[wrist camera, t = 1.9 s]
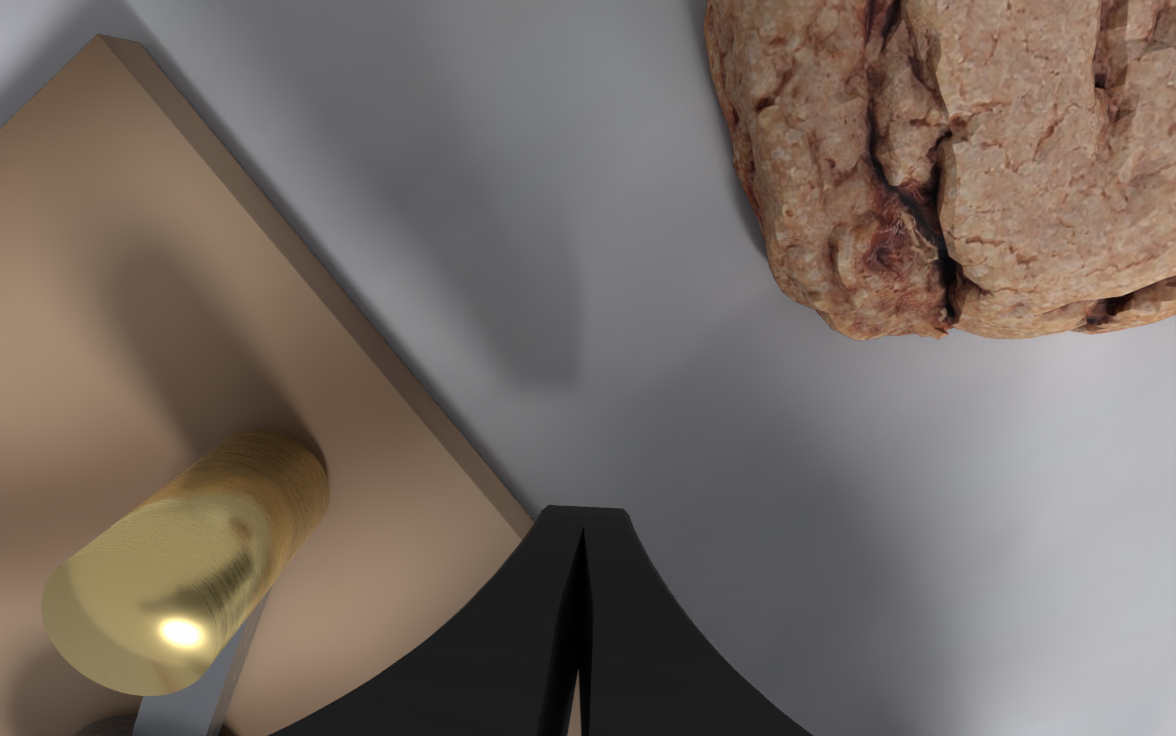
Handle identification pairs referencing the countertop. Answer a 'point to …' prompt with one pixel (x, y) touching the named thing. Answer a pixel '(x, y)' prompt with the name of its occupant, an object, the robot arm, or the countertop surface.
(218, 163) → the brown cutting board
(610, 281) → the countertop surface
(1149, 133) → the cookie
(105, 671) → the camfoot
